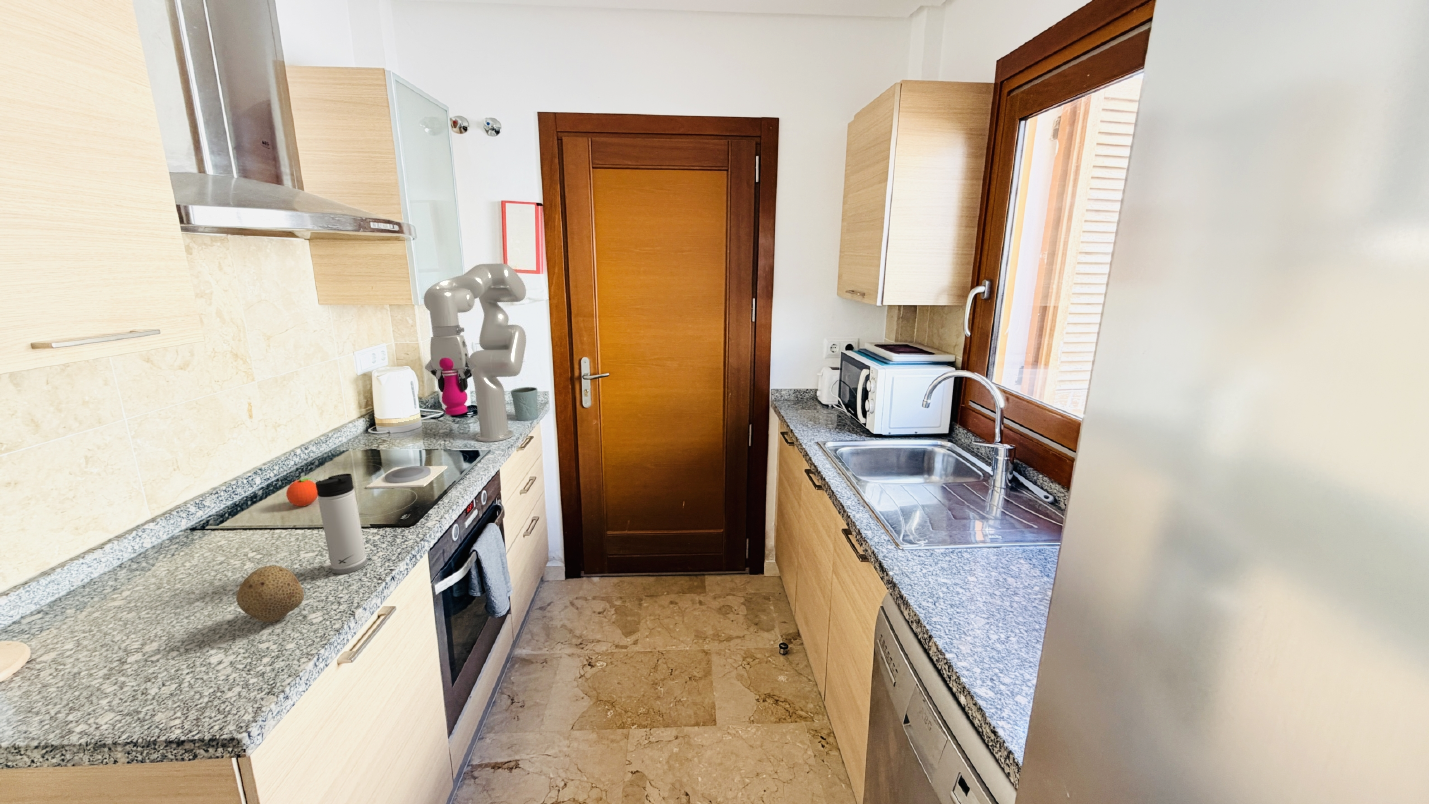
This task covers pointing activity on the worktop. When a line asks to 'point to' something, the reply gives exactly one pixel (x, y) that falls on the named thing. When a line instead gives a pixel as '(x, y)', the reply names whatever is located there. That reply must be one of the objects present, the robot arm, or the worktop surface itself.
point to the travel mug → (341, 523)
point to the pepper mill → (452, 389)
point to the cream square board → (407, 477)
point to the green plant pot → (525, 403)
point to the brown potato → (270, 593)
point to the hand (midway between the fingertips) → (453, 390)
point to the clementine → (302, 492)
